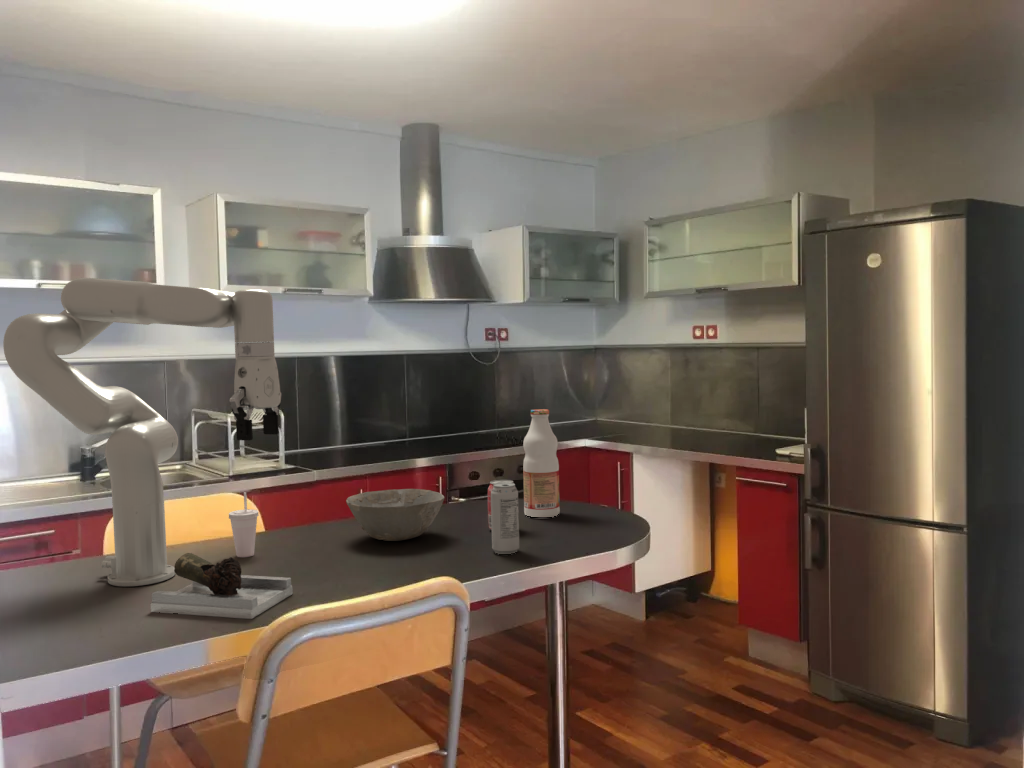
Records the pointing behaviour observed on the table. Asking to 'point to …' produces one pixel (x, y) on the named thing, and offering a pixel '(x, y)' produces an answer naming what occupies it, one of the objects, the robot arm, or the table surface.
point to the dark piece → (211, 573)
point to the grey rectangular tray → (225, 598)
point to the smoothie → (244, 529)
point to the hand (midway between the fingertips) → (258, 437)
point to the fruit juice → (541, 468)
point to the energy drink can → (505, 518)
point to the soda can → (490, 497)
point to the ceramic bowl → (395, 512)
